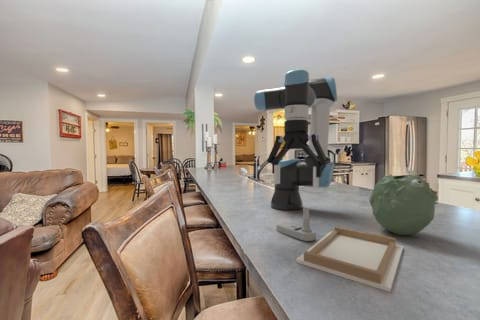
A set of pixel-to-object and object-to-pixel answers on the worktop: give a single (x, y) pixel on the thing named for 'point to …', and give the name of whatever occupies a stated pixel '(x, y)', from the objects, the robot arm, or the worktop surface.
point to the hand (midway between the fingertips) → (295, 185)
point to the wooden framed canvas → (356, 257)
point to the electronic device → (298, 228)
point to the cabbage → (403, 203)
